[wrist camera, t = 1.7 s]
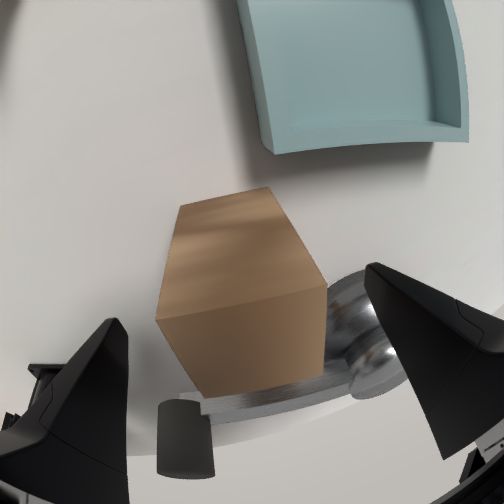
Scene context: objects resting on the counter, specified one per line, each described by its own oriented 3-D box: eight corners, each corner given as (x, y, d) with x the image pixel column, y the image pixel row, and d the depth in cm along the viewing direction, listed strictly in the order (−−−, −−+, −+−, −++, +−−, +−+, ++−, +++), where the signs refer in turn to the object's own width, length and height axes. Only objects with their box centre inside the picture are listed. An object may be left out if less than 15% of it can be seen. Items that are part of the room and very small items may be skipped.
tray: (262, 143, 11) (274, 154, 9) (224, -49, 5) (228, -77, 3) (436, 132, 11) (468, 142, 9) (411, -25, 6) (439, -34, 4)
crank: (418, 312, 13) (464, 378, 9) (400, 360, 16) (430, 416, 12) (143, 377, 13) (136, 463, 8) (176, 414, 15) (177, 482, 11)
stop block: (202, 276, 14) (204, 398, 8) (180, 205, 12) (155, 319, 6) (278, 260, 14) (322, 374, 8) (268, 186, 12) (327, 283, 6)
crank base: (289, 367, 19) (298, 399, 17) (276, 261, 14) (291, 300, 11) (392, 334, 20) (409, 361, 17) (418, 229, 14) (448, 254, 12)
